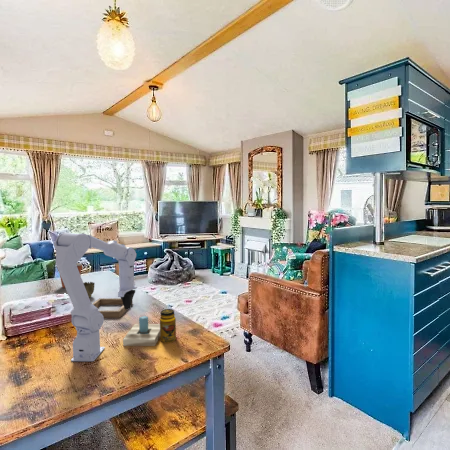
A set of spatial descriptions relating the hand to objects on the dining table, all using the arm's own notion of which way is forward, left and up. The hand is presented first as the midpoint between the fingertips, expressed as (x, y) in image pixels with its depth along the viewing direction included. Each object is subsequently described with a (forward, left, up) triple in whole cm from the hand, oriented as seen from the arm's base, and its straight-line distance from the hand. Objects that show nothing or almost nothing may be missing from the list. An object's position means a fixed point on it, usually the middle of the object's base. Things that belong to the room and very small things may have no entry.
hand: (127, 308), depth 127 cm
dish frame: (+24, +18, -10) cm, 32 cm away
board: (-5, -8, -10) cm, 14 cm away
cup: (+44, +38, -10) cm, 59 cm away
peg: (-5, -8, -10) cm, 14 cm away
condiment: (-6, -17, -11) cm, 21 cm away
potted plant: (+67, +59, -10) cm, 90 cm away
